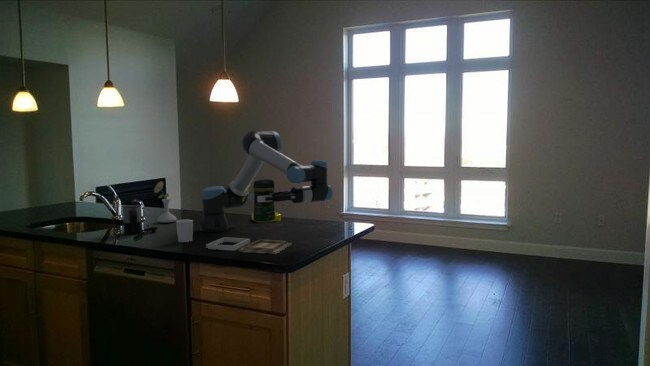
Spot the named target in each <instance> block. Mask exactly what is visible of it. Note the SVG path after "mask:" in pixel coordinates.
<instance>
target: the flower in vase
mask: <svg viewBox="0 0 650 366" xmlns="http://www.w3.org/2000/svg"><path fill="white" fill-rule="evenodd" d="M163 186H164V182H163V181H161V180H160V181H158V183H157V184H156V185H155V186H154V188H153V193H155V194H158V193H160V192H161V194H160V195H159V196H158V197H157V198H158V199H161V201H162V202H163V203H162V204H163V206H164V212H163V213H162V214H160V216H159V217H157V219H156V222H158V223H164V224H168V223H174V222H176V221H178V219H177V216H175V215H174V214H173V213H171V212H170V211H169V203H170V201H171V199H170V198H168V197H169V196H170V195H169V192H167V193H165V194H164V192H163V190H162V189H163V188H164V187H163ZM162 198H164V199H162Z"/></svg>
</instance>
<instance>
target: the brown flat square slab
mask: <svg viewBox="0 0 650 366" xmlns="http://www.w3.org/2000/svg"><path fill="white" fill-rule="evenodd" d="M292 245H293V244H292V242H288V240H275V239H257V240H255V241H253V242H250V243H249V244H247V245H245V246H243V247H241V248H238V252H241V253H252V254H253V253H255V254H265V253H269V255H278V254H279V253H281V252H283V251H285V250H286V249H287V247H288V248H290V247H291V246H292ZM285 248H286V249H285ZM282 250H283V251H282ZM280 251H281V252H280ZM277 253H278V254H277Z"/></svg>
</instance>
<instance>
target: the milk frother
mask: <svg viewBox="0 0 650 366" xmlns="http://www.w3.org/2000/svg"><path fill="white" fill-rule="evenodd" d="M141 206H142V205H141V204H128V205H122V206H121V207H122V214H123V215H122V216H123V218H122V219H123V234H124V235H127V236H128V235H129V236H130V235H140V234H142V233H143V232H153V233H154V232H156V231H157V230H159V227H158V226H152V227H147V228H144V229H143V228H142V214H141V213H142V212H141ZM142 229H143V230H142Z"/></svg>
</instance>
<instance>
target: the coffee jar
mask: <svg viewBox="0 0 650 366" xmlns="http://www.w3.org/2000/svg"><path fill="white" fill-rule="evenodd" d="M252 190H253V194H254V200H253V201H254V203H253V204H254V205H253V213H254V220H255V221H257V222H260V221H264V223H268V222H267V221H271V220H274V219H275V212H276V209H275V201H273V200H272V201H270V202H258V200H257V196H266V195H272V197H273V194H274V192H275V181H274V180H273V179H268V178H267V179H266V178H265V179H257V180H254V182H253V189H252ZM255 221H254V222H255ZM257 222H256V223H257Z"/></svg>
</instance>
